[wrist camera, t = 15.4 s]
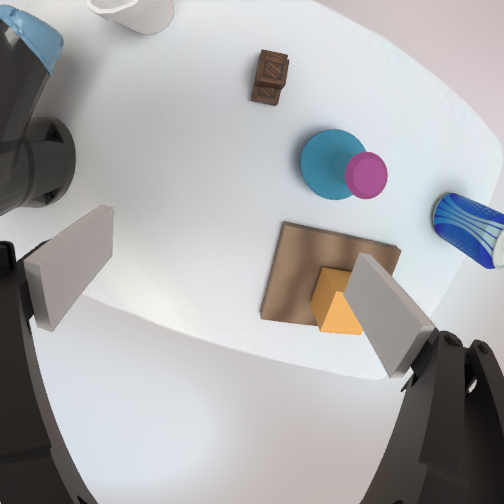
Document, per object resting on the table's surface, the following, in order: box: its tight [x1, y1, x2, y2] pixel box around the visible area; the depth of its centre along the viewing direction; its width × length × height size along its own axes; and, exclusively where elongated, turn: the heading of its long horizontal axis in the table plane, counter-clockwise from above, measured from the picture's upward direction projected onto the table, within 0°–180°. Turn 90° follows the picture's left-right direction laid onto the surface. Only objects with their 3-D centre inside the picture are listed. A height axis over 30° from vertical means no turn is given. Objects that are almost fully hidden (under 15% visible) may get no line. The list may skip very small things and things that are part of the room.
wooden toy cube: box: [310, 267, 363, 335], centre depth 39 cm, size 6×6×7 cm
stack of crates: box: [251, 50, 289, 106], centre depth 31 cm, size 15×15×7 cm
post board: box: [260, 222, 401, 326], centre depth 41 cm, size 20×16×9 cm
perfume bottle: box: [300, 129, 388, 200], centre depth 31 cm, size 9×9×15 cm
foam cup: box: [85, 0, 174, 35], centre depth 22 cm, size 10×9×13 cm
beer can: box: [433, 193, 504, 270], centre depth 34 cm, size 8×8×16 cm
